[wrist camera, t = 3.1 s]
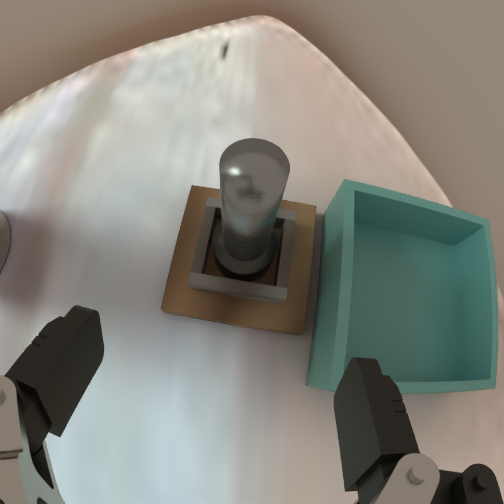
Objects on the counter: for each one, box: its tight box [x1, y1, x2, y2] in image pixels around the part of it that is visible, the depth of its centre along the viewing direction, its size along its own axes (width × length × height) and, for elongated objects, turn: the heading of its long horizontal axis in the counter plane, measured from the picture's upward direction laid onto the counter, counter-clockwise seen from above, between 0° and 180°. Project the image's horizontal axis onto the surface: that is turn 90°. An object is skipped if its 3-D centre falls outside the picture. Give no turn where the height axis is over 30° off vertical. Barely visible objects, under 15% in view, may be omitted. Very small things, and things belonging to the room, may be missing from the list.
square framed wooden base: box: [161, 185, 316, 335], centre depth 25 cm, size 11×11×3 cm
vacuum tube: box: [213, 138, 290, 282], centre depth 20 cm, size 5×5×12 cm
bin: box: [306, 179, 498, 393], centre depth 23 cm, size 15×15×6 cm
